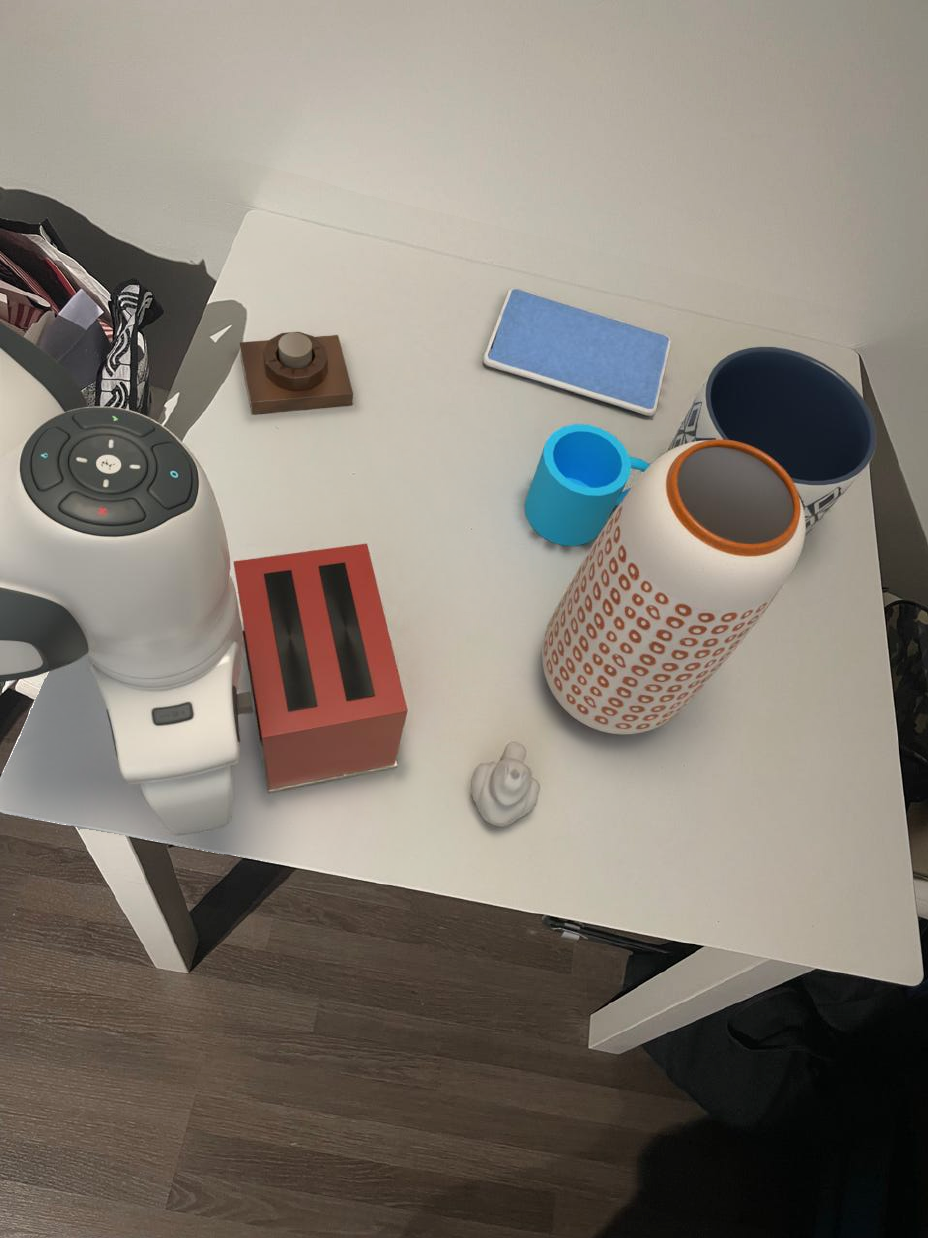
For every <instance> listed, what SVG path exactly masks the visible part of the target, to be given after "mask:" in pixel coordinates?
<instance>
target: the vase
mask: <svg viewBox="0 0 928 1238" xmlns="http://www.w3.org/2000/svg"><path fill="white" fill-rule="evenodd" d="M631 487H632V488H631ZM631 487H630V488H631V489H630V491H629V492H628V493H627V495H626V496H625V497H624V499H623V500H622V502H621V503H620V504H619V505H618V506H616V508H615V510H614V511H613V512H612V513H611V515H610V516H609V518H608V520H607V522H606V524H605V525H604V527H603V529H602V530H601V532H600V533H599V535H598V536H597V537H596V538H595V541H594V542H593V544H592V545H591V547H590V549H589V550H588V551H587V553H586V555H585V557H584V558H583V560H582V562H581V564H580V566H579V567H578V568H577V570H576V573H575V574H574V576H573V578H572V579H571V581H570V583H569V584H568V586H567V588H566V590H565V592H564V594H563V595H562V596H561V599H560V601H559V603H558V604H557V606H556V607H555V609H554V611H553V613H552V615H551V617H550V619H549V622H548V624H547V627H546V629H545V633H544V637H543V642H542V653H541V654H542V655H541V656H542V657H541V658H542V667H543V672H544V676H545V678H546V682H547V684H548V687H549V689H550V691H551V693H552V694H553V696H554V698H555V699H556V701H557V702H558V704H559V705H560V706H561V707H562V708H563V709H564V710H565V711H566V712H567V713H568V714H569V715H570V716H571V717H573V718H574V719H576V720H577V721H578V722H580V723H582V724H583V725H585V726H587V727H590V728H591V729H594V730H596V731H600V732H603V733H607V734H614V735H634V734H641V733H645V732H648V731H651V730H653V729H656V728H659V727H660V726H662V725H665V724H666V723H668V722H669V721H670V720H673V718H675V717H676V716H677V715H679V713H681V712H682V711H683V710H684V709H685V707H687V706H688V704H689V703H690V702H691V701H692V700H693V699H694V698H695V697H696V695H698V693H699V692H700V691H701V690H702V689H703V688H704V686H706V684H707V683H708V682H709V681H710V680H711V679H712V677H713V676H714V675H715V674H716V673H717V671H718V670H719V669H720V668H721V667H722V666H723V665H724V664H725V662H726V661H727V660H728V659H729V658H730V656H731V655H732V654H733V653H734V652H735V651H736V649H737V648H738V647H739V645H740V644H741V643H742V642H743V641H744V639H745V638H746V636H747V635H748V634H749V633H750V631H751V630H752V629H753V627H755V625H756V624H757V623H758V622H759V620H760V619H761V618H762V616H763V615H764V613H765V612H766V611H767V609H768V608H769V606H770V605H771V604H772V602H773V601H774V599H775V598H776V596H777V595H778V593H779V592H780V591H781V589H782V587H783V586H784V585H785V583H786V582H787V580H788V579H789V578H790V575H791V574H792V572H793V571H794V569H795V567H796V565H797V563H798V561H799V559H800V556H801V553H802V551H803V548H804V544H805V539H806V536H805V532H806V524H805V514H804V509H803V506H802V503H801V500H800V498H799V495H798V492H797V489H796V487H795V485H794V483H793V481H792V479H791V478H790V476H789V475H788V473H787V472H786V471H785V470H784V469H783V468H782V467H781V465H779V464H778V463H777V462H776V461H775V460H774V459H773V458H771V457H770V456H768V455H767V454H766V453H764V452H762V451H760V450H759V449H757V448H755V447H752V446H750V445H747V444H744V443H741V442H737V441H732V440H705V441H695V442H690V443H687V444H684V445H681V446H678V447H676V448H674V449H672V450H670V451H668V452H667V453H666V452H665V453H664V454H662V455H660V456H659V457H658V458H657V459H655V460H654V461H653V462H652V463H651V464H650V466H649V467H648V468H647V469H646V470H645V471H644V472H642V473H641V475H640V476H639V477H638V478H637V480H636V481H635V482H634V484H633V485H632V486H631Z"/></svg>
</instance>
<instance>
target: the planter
mask: <svg viewBox="0 0 928 1238" xmlns="http://www.w3.org/2000/svg"><path fill="white" fill-rule="evenodd" d="M874 420H875V419H874V417H873V415H872V412H871V410H870V408H869V406H868V405H867V402H866V401H865V399H864V398H863V396H862V395H861V394H860V393H859V392H858V390H857V389H856V387H855V386H853V384H851V383H850V381H848V380H847V379H846V378H845V376H842V374H840V373H839V372H838V371H836V370H835V369H833V368H832V367H831V366H829V365H828V364H826V363H824V362H822V361H820V360H819V359H816V358H814V357H813V356H810V355H807V354H804V353H802V352H800V351H797V350H796V351H795V350H792V349H789V348H783V347H776V346H754V347H747V348H743V349H739V350H737V351H734V352H732V353H730V354H728V355H726V356H725V357H724V358H722V359H721V360H719V361H718V362H717V363H716V365H715V366H714V367H712V369H711V371H710V373H709V374H708V376H707V378H706V380H705V381H704V383H703V385H702V386H701V388H700V390H699V392H698V394H697V395H696V397H695V399H694V401H693V402H692V404H691V406H690V408H689V410H688V412H687V413H686V415H685V417H684V419H683V421H682V422H681V424H680V426H679V428H678V429H677V432H676V433H675V435H674V437H673V439H672V441H671V442H670V444H669V446H668V447H667V449H666V451H665V453H667V452H668V451H670V450H672V449H674V448H676V447H678V446H681V445H684V444H687V443H690V442H695V441H705V440H732V441H737V442H741V443H744V444H747V445H750V446H752V447H755V448H757V449H759V450H760V451H762V452H764V453H766V454H767V455H768V456H770V457H771V458H773V459H774V460H775V461H776V462H777V463H778V464H779V465H781V467H782V468H783V469H784V470H785V471H786V472H787V473H788V475H789V476H790V478H791V479H792V481H793V483H794V485H795V487H796V489H797V492H798V495H799V498H800V500H801V503H802V506H803V509H804V514H805V524H806V532H805V537H806V536H807V535H808V534H809V533H810V532H811V531H812V529H813V528H814V527H815V526H816V525H817V524H818V523H819V522H820V521H821V519H822V518H823V517H824V516H825V515H826V514H827V513H828V512H829V510H830V509H831V508H832V507H833V506H834V505H835V504H836V502H837V501H838V500H840V498H841V497H842V496H843V495H844V494H845V493H846V491H847V490H848V489H849V488H850V487H851V486H852V485H853V484H854V482H855V481H856V480H857V479H858V478H859V476H860V475H861V474H862V473H863V472H864V471H865V469H867V467H868V465H869V464H870V462H871V461H872V459H873V457H874V454H875V452H876V447H877V429H876V428H877V427H876V424H875V421H874Z"/></svg>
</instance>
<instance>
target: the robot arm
mask: <svg viewBox="0 0 928 1238" xmlns="http://www.w3.org/2000/svg"><path fill="white" fill-rule="evenodd" d="M230 573H231V553H230V548H229V543H228V538H227V532H226V528H225V525H224V520H223V517H222V513H221V510H220V508H219V504H218V501H217V499H216V496H215V493H214V491H213V487H212V485H211V482H210V481H209V478H208V476H207V474H206V471H205V470H204V468H203V466H202V465H201V463H200V462H199V460H198V459H197V457H196V456H195V454H194V453H193V452H192V451H191V450H190V448H189V447H188V446H187V445H186V444H185V443H184V442H183V441H182V440H181V439H180V438H179V437H178V436H177V435H176V434H174V433H173V432H172V431H171V430H170V429H168V428H167V427H166V426H164V425H163V424H161V423H160V422H158V421H156V420H155V419H152V418H151V417H149V416H147V415H145V414H142V413H140V412H136V411H134V410H130V409H126V408H121V407H115V406H104V405H103V406H99V405H98V406H96V405H95V406H89V405H88V402H87V400H86V397H85V395H84V393H83V391H82V390H81V388H80V386H79V385H78V383H77V382H76V380H75V379H74V378H73V377H72V376H71V375H70V373H69V372H68V371H67V369H66V368H64V367H63V366H62V365H61V364H60V363H59V362H58V361H57V360H56V359H55V358H54V357H53V356H51V355H50V354H49V353H48V352H46V351H45V350H44V349H43V348H41V347H40V346H39V345H37V344H36V343H34V342H32V341H31V340H29V339H28V338H27V337H25V336H23V335H22V334H20V333H19V332H17V331H16V330H14V329H12V328H10V327H9V326H7V325H6V324H5V323H3V322H1V321H0V683H5V682H12V681H19V680H25V679H29V678H33V677H38V676H40V675H43V674H46V673H48V672H52V671H56V670H58V669H61V668H63V667H66V666H68V665H71V664H73V663H75V662H77V661H79V660H80V659H82V658H84V657H85V656H86V657H87V659H88V661H89V663H90V664H91V665H90V666H89V668H90V669H89V670H90V672H91V674H92V677H93V678H94V680H95V683H96V684H97V686H98V688H99V690H100V693H101V695H102V697H103V700H104V703H105V706H106V714H107V718H108V722H109V727H110V731H111V737H112V740H113V741H112V743H113V746H114V752H115V756H116V759H117V761H118V763H117V764H118V769H119V772H120V775H121V777H122V778H123V780H124V781H125V782H126V783H127V784H129V785H135V784H136V785H137V784H139V785H140V788H141V791H142V793H143V796H144V799H145V801H146V803H147V805H148V806H149V808H150V811H152V813H153V814H154V816H155V818H156V819H157V820H158V821H159V823H160V824H161V826H162V827H163V828H164V829H165V830H166V831H167V833H169V834H171V835H172V836H175V837H183V836H190V835H196V834H202V833H206V832H210V831H215V830H217V829H222V828H224V827H226V826H228V825H229V824H230V823H231V821H232V819H233V804H234V800H233V798H234V797H233V796H234V795H233V794H234V793H233V790H234V789H233V788H234V785H233V765H235V764H238V763H239V762H240V760H241V756H242V755H241V748H240V743H241V735H240V725H239V724H240V723H239V715H238V698H237V694H238V687H239V679H240V672H241V665H242V657H241V655H242V652H243V647H244V639H243V631H242V630H243V627H242V620H241V614H240V607H239V600H238V597H237V590H236V587H235V584H234V580H233V578H232V577H231V574H230Z"/></svg>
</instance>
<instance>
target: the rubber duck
mask: <svg viewBox="0 0 928 1238" xmlns="http://www.w3.org/2000/svg"><path fill="white" fill-rule="evenodd" d="M526 756H527V749H526V747H525V745H524V744H522V743H521V742H518V741H510V742H508V743H507V744H506V745H505V747H504V750H503V753H502V755H501V756H500V759H499V761H491V762H484V763H479V764H477V766H476V767H475V768H474V770H473V774H472V778H471V782H470V792H471V796H472V799H473V801H474V802H475V804H476V808H477V810H478V812H479V814H480V816H481V817H482V818H483V820H484V821H485V822H487V823H489V824H490V825H494V826H497V827H507V826H509V825H510V824H512V823H514V822H515V821H517V820H519V819H520V818H522V817H524V816H527V815H528V814H529V813H530V812H531V811H532V810H533V809H534V807H535V806H536V804H537V803H538V799H539V795H540V791H541V783H540V782H539V781H538V779H536V778H535V777H533V773H532V772H533V771H532V769H531V768H530V767H529V766H528V765H527V764H526V763H525V760H526Z"/></svg>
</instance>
